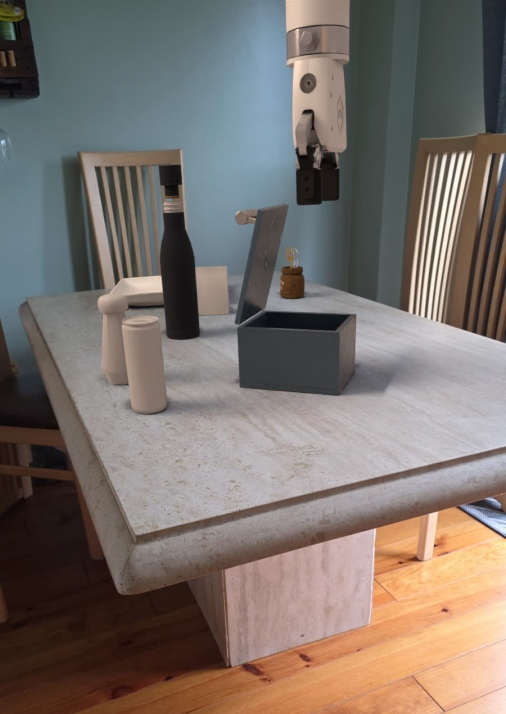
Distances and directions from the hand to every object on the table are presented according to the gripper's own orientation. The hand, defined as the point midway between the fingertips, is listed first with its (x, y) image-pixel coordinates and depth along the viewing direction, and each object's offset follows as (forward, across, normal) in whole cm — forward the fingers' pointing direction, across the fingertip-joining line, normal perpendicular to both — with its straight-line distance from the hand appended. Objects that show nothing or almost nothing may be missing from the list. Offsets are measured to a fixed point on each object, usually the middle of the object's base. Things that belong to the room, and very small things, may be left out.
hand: (318, 202), depth 82 cm
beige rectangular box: (+24, +41, +34) cm, 59 cm away
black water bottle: (+24, +21, +32) cm, 46 cm away
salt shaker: (+24, -7, +29) cm, 39 cm away
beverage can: (+24, -17, +19) cm, 35 cm away
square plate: (+24, +56, +52) cm, 80 cm away
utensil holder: (+24, +62, +22) cm, 70 cm away
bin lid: (+8, 0, +8) cm, 11 cm away
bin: (+24, 0, +3) cm, 25 cm away
